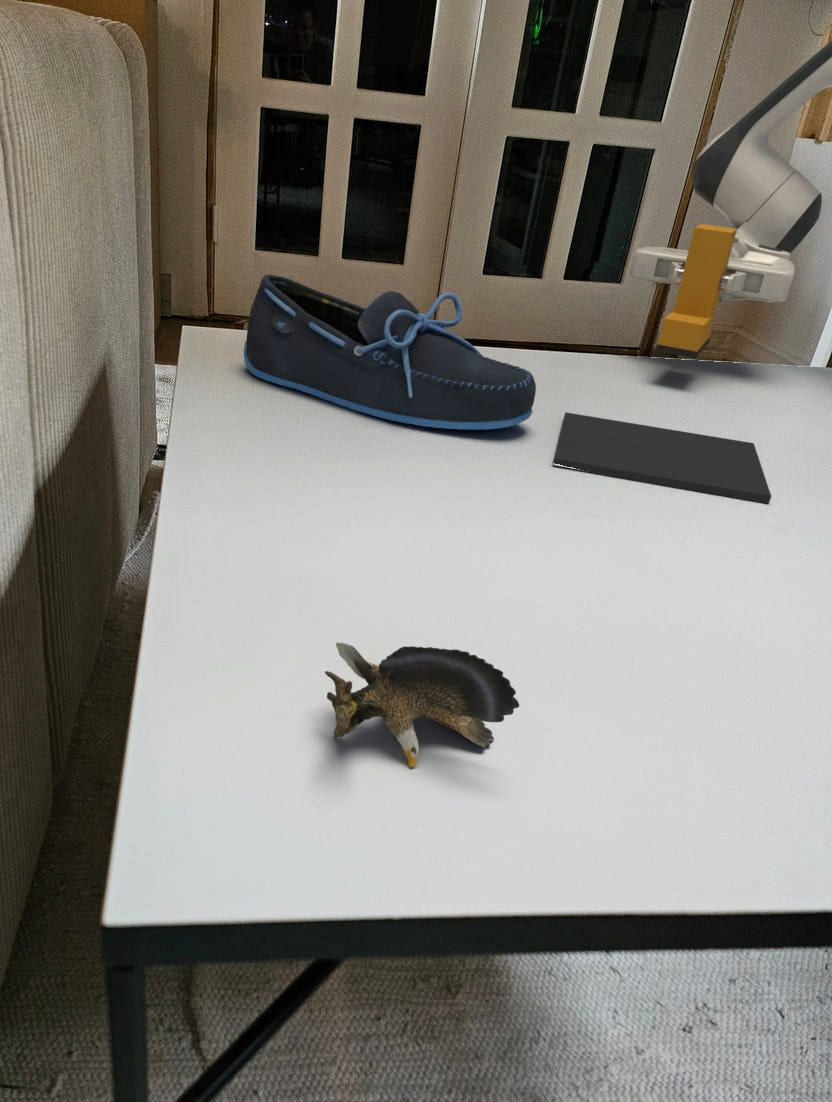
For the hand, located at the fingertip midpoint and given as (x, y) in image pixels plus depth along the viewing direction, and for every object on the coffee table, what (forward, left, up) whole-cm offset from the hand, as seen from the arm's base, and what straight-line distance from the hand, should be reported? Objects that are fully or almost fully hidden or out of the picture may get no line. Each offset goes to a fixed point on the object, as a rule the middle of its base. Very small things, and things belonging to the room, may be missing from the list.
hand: (701, 280), depth 118 cm
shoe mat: (+3, +35, -12) cm, 37 cm away
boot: (0, +1, -8) cm, 8 cm away
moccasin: (+33, +31, -12) cm, 47 cm away
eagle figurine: (+17, +91, -12) cm, 93 cm away
